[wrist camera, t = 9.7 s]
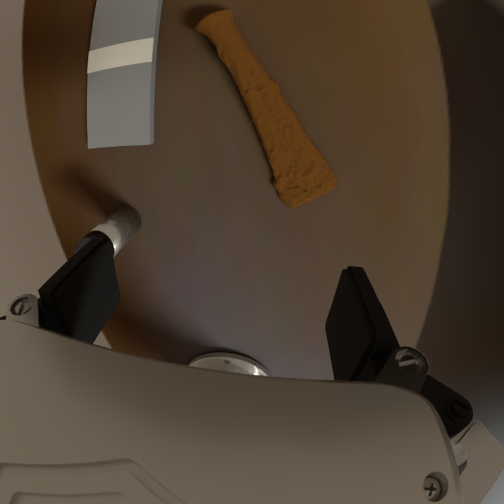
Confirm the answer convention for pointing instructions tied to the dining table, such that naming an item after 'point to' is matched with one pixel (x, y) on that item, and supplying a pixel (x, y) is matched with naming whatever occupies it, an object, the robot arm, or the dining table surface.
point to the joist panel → (122, 73)
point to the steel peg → (115, 229)
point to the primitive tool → (270, 116)
